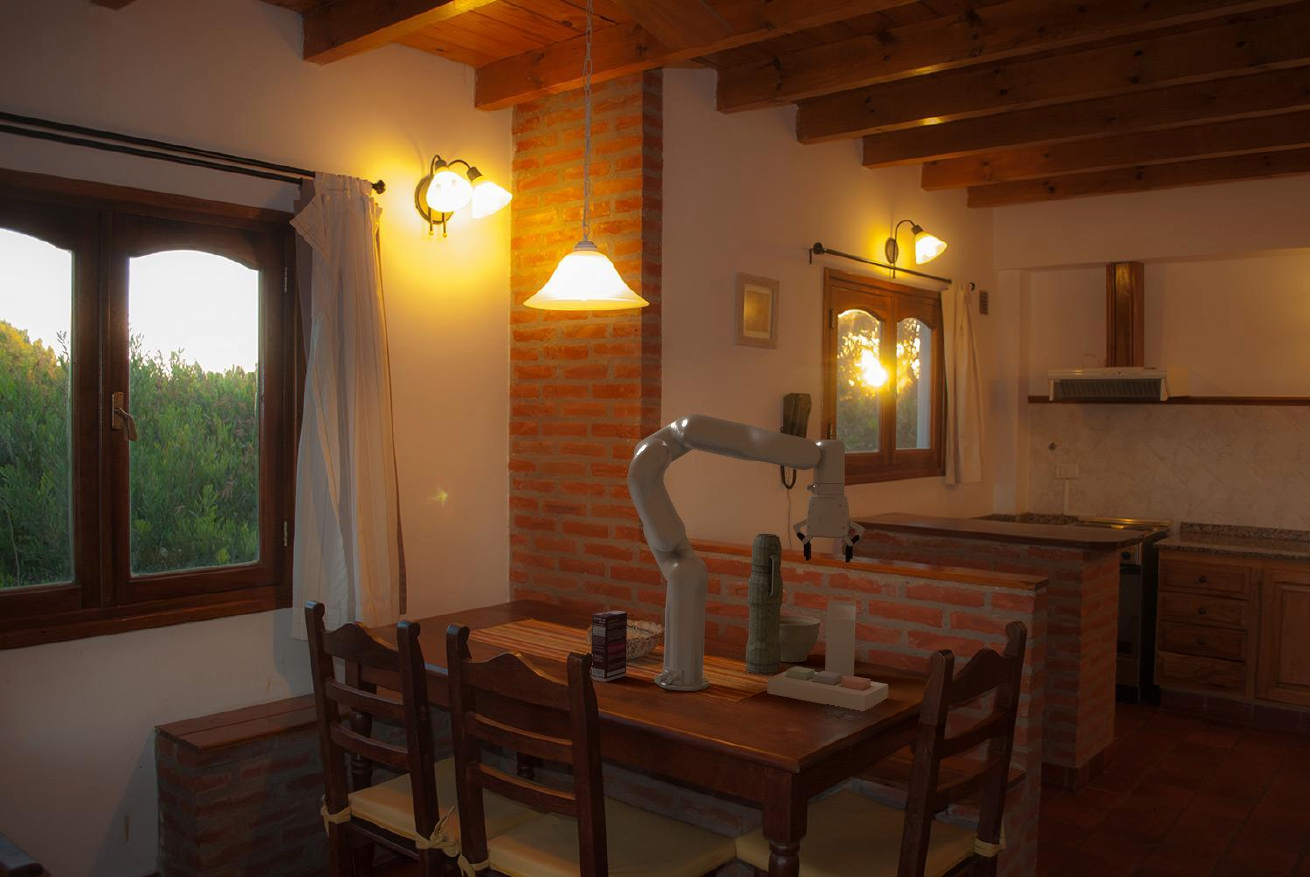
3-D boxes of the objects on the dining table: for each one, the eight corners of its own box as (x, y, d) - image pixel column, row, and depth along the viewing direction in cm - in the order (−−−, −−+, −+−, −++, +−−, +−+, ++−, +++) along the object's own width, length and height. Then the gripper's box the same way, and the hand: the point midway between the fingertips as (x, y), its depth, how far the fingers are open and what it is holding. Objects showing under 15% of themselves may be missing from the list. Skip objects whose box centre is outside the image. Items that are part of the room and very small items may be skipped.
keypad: (864, 711, 221) (864, 694, 221) (767, 693, 235) (767, 676, 235) (887, 699, 233) (888, 682, 233) (794, 682, 246) (794, 666, 246)
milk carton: (853, 679, 251) (856, 604, 251) (824, 677, 253) (827, 602, 253) (853, 673, 258) (856, 599, 258) (825, 671, 260) (828, 598, 260)
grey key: (833, 688, 230) (833, 678, 230) (813, 685, 233) (813, 674, 233) (842, 684, 235) (842, 674, 235) (822, 681, 237) (822, 670, 237)
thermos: (761, 677, 250) (766, 537, 250) (735, 667, 261) (740, 532, 261) (790, 675, 254) (795, 536, 254) (764, 664, 265) (768, 532, 265)
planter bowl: (807, 653, 282) (808, 614, 282) (827, 666, 266) (828, 625, 266) (752, 653, 279) (753, 614, 279) (768, 666, 263) (769, 624, 263)
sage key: (805, 683, 234) (805, 673, 234) (786, 680, 237) (786, 669, 237) (814, 680, 239) (814, 669, 239) (795, 676, 241) (795, 666, 241)
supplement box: (611, 673, 250) (613, 609, 250) (626, 676, 247) (628, 612, 247) (589, 679, 243) (591, 613, 243) (604, 682, 240) (607, 616, 240)
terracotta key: (861, 694, 227) (862, 683, 227) (841, 690, 229) (841, 679, 229) (870, 690, 231) (870, 679, 231) (850, 686, 233) (850, 675, 233)
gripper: (790, 490, 243) (789, 560, 243) (862, 492, 237) (861, 564, 237) (796, 488, 250) (796, 557, 250) (867, 490, 244) (866, 561, 244)
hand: (828, 561), depth 244 cm, fingers open, 9 cm apart
